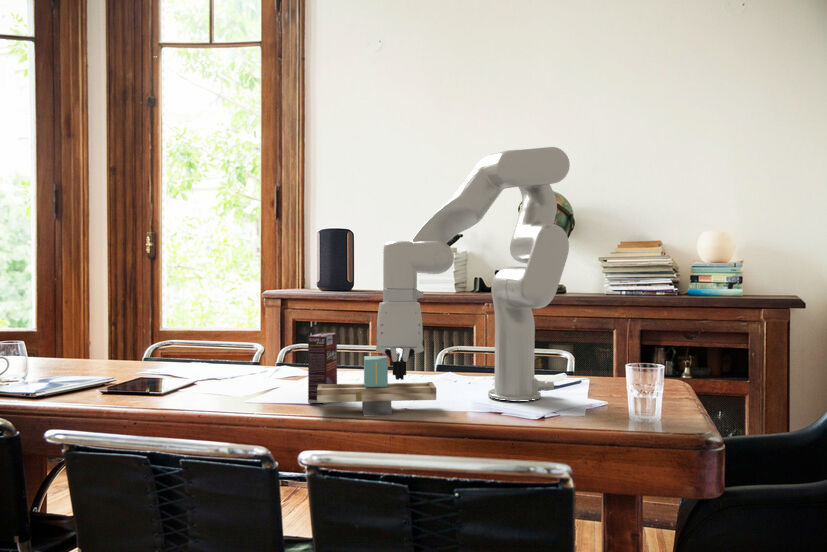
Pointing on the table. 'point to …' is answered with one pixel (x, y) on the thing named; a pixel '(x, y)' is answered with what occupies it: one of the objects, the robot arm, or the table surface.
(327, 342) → the supplement box
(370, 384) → the block
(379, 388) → the beam
